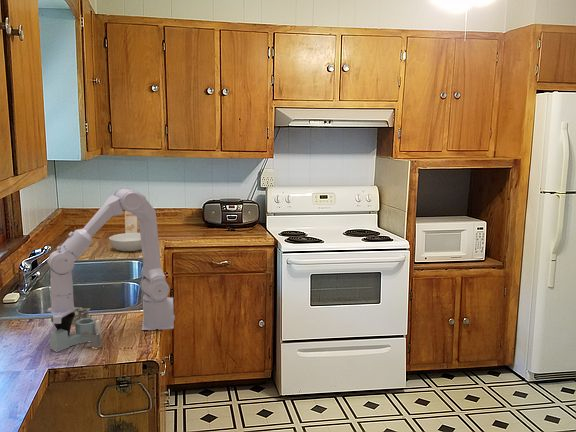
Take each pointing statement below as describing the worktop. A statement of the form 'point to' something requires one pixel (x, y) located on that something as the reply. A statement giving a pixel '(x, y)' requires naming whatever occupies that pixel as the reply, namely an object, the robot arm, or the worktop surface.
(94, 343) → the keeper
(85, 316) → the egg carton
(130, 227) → the coffeecake box
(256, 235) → the worktop surface
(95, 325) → the pintle
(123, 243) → the serving bowl
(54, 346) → the link
